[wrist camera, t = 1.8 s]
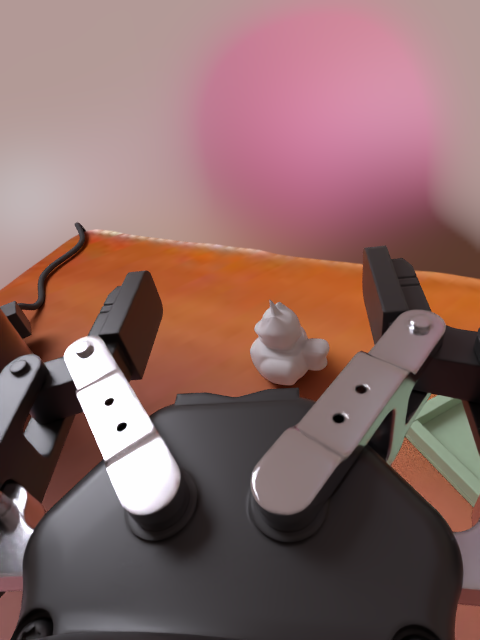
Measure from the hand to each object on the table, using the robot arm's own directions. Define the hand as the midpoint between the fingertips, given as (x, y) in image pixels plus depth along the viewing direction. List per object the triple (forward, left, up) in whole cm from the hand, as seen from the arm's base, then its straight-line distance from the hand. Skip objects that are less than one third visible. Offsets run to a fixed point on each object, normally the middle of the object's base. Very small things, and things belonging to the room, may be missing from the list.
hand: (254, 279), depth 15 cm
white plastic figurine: (-10, +6, -18) cm, 21 cm away
